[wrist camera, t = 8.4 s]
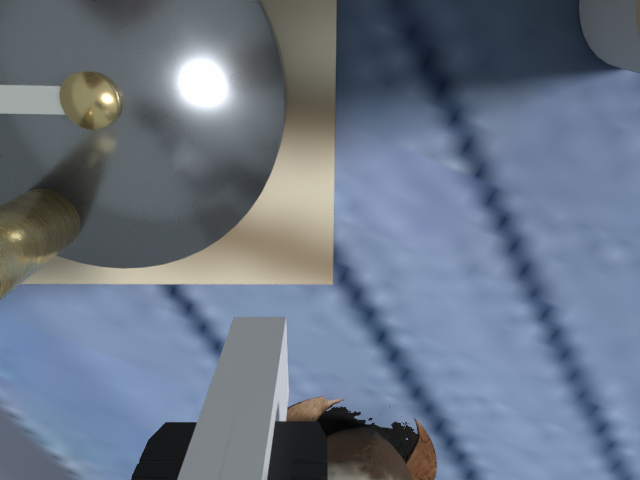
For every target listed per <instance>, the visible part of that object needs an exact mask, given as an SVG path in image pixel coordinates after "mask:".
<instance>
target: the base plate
mask: <svg viewBox="0 0 640 480" xmlns="http://www.w3.org/2000/svg"><path fill="white" fill-rule="evenodd" d="M261 1H262V3H263V6H264V8H265V10H266V12H267V14H268V16H269V18H270V21H271V23H272V25H273V28H274V31H275V34H276V37H277V40H278V43H279V46H280V49H281V54H282V59H283V64H284V69H285V74H286V88H287V110H286V123H285V128H284V133H283V139H282V143H281V146H280V149H279V152H278V155H277V158H276V161H275V164H274V167H273V170H272V172H271V174H270V177H269V179H268V181H267V183H266V185H265V187H264V189H263V191H262V193H261V194H260V196H259V197H258V199H257V200H256V202H255V203H254V205H253V206H252V208H251V209H250V211H249V212H248V213H247V214H246V215H245V216H244V217H243V219H242V220H241V221H240V222H239V223H238V224H237V225H236V226H235V227H234V228H233V229H232V230H230V231H229V232H228V233H227V234H226V235H225V236H223V237H222V238H221V239H220V240H218V241H216V242H215V243H213V244H212V245H210V246H208V247H207V248H205V249H204V250H202V251H200V252H197V253H195V254H193V255H191V256H189V257H186V258H184V259H181V260H177V261H174V262H171V263H167V264H163V265H157V266H151V267H145V268H126V269H122V268H108V267H99V266H94V265H88V264H83V263H78V262H75V261H72V260H68V259H65V258H62V257H58V256H55V257H53V258H52V259H51V260H50V261H48V262H47V263H46V264H45V265H43V266H42V267H41V268H40V269H38V270H37V271H36V272H35V273H33V274H32V275H31V276H30V277H29V278H27V279H26V280H25V281H24V282H22V283H21V284H333V229H334V160H335V91H336V21H337V0H261Z"/></svg>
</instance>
